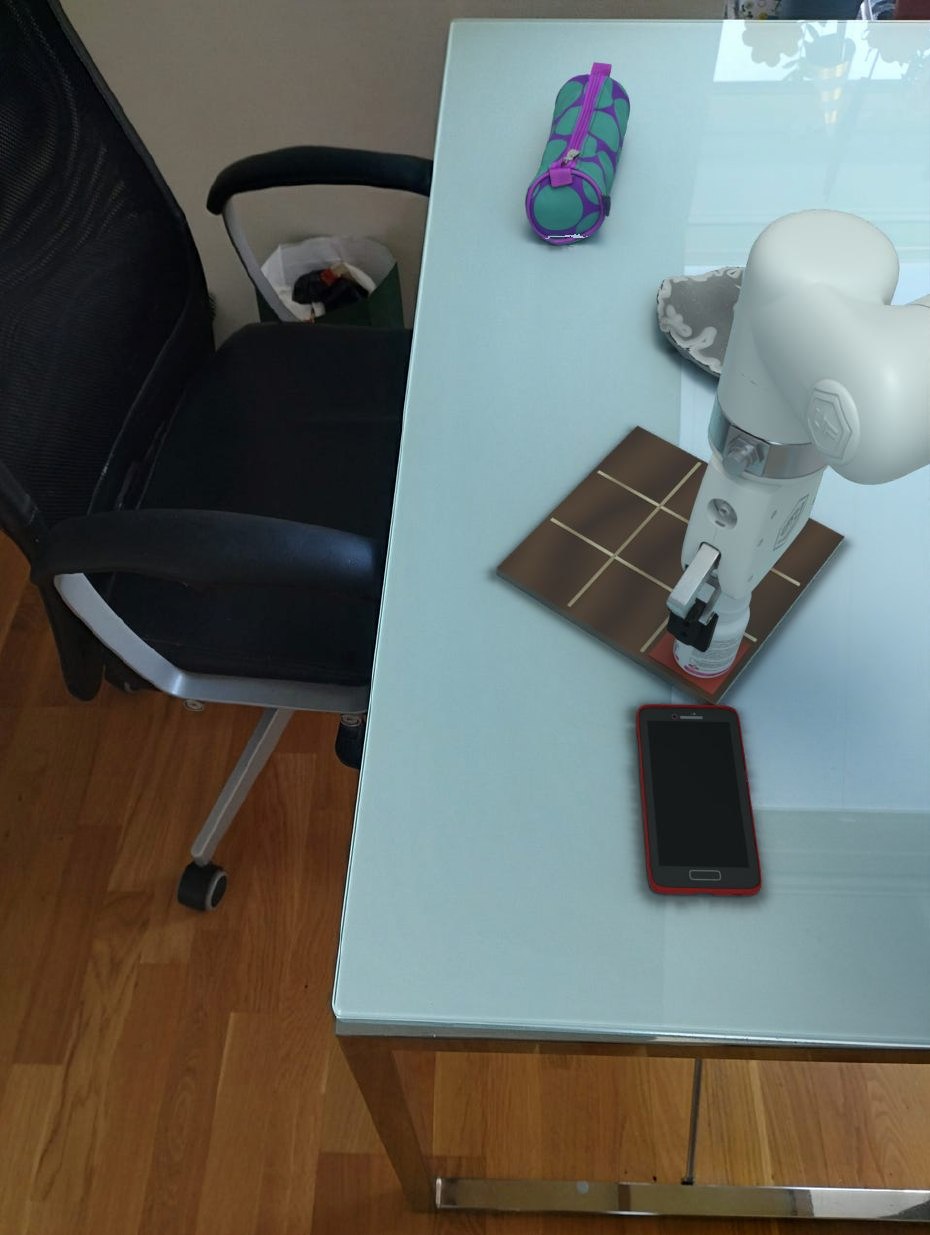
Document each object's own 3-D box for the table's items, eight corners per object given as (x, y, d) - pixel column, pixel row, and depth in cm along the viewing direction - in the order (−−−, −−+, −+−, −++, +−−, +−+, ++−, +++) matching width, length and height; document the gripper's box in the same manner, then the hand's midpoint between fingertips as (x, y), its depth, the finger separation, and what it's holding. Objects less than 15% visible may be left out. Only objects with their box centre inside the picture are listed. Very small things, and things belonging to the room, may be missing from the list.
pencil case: (604, 256, 112) (614, 173, 105) (522, 246, 114) (525, 164, 106) (627, 146, 124) (637, 65, 116) (552, 138, 125) (558, 57, 117)
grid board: (841, 543, 90) (845, 535, 89) (712, 711, 81) (715, 704, 80) (636, 432, 98) (637, 424, 97) (496, 574, 89) (496, 566, 88)
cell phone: (648, 895, 73) (650, 890, 72) (634, 709, 81) (635, 702, 80) (761, 898, 72) (764, 893, 72) (735, 710, 81) (738, 704, 80)
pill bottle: (746, 659, 82) (771, 596, 75) (702, 690, 81) (723, 629, 74) (703, 618, 85) (724, 553, 78) (659, 648, 83) (676, 585, 76)
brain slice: (659, 405, 100) (664, 382, 97) (647, 289, 109) (651, 265, 107) (869, 409, 99) (879, 385, 97) (838, 292, 109) (847, 267, 106)
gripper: (757, 541, 57) (705, 705, 71) (900, 370, 65) (827, 548, 79) (641, 478, 60) (612, 647, 74) (791, 321, 67) (739, 501, 81)
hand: (723, 596), depth 76 cm, fingers open, 9 cm apart
